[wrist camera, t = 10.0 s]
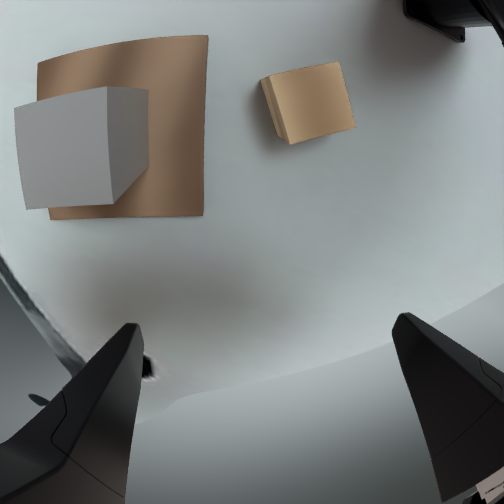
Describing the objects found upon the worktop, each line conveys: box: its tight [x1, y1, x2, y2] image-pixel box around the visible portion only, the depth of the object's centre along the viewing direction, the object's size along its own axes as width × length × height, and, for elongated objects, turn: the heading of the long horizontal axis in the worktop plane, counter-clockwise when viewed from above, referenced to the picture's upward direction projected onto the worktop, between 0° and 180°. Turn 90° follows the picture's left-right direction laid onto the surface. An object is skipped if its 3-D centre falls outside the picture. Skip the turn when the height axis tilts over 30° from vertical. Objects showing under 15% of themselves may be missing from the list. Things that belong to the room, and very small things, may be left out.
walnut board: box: [37, 35, 208, 220], centre depth 16 cm, size 12×12×1 cm
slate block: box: [14, 86, 149, 210], centre depth 13 cm, size 5×5×7 cm
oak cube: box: [260, 62, 356, 145], centre depth 16 cm, size 4×4×4 cm
